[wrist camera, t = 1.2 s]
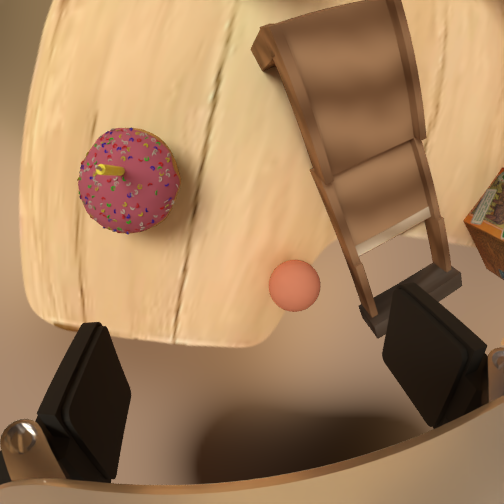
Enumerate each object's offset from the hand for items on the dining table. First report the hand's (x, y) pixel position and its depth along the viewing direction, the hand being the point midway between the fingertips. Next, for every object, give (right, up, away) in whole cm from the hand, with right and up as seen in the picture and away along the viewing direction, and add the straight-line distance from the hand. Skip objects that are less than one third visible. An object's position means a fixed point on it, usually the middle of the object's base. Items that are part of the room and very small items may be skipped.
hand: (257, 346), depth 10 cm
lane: (+12, +11, +20) cm, 26 cm away
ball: (+4, +1, +23) cm, 24 cm away
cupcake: (-10, +10, +18) cm, 23 cm away
